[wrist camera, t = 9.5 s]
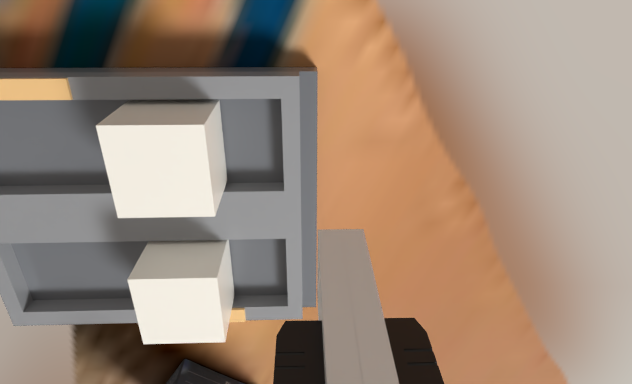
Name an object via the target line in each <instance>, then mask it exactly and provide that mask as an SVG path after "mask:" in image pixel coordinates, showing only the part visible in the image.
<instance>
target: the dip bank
mask: <svg viewBox="0 0 632 384" xmlns="http://www.w3.org/2000/svg"><path fill="white" fill-rule="evenodd" d="M128 100H219V102H220V112H221V122H222V131H223V141H224V151H225V161H226V171H227V183H226V186H225V189H224V192H223V195H222V198H221V201H220V203H219V206H218V209H217V212H216V215H215V217H157V218H118V216H117V212H116V208H115V204H114V200H113V196H112V191H111V187H110V183H109V179H108V175H107V171H106V167H105V162H104V158H103V154H102V150H101V146H100V142H99V138H98V133H97V129H96V125H97V124H98V123H100V122H101V121H102V120H104V119H105V118H106V117H107V116H109V115H110V114H111V113H113V112H114V111H115V110H117V109H118V108H119V107H121V106H122V105H123V104H125V103H126V102H127V101H128ZM316 218H317V67H187V68H0V295H1V297H2V300H3V302H4V304H5V307H6V309H7V311H8V313H9V316H10V318H11V320H12V323H13V325H14V326H22V325H23V326H26V325H65V324H66V325H68V324H110V323H138V321H137V317H136V313H135V308H134V304H133V300H132V296H131V292H130V288H129V284H128V280H127V279H128V277H129V276H130V274H131V272H132V270H133V268H134V267H135V265H136V263H137V261H138V259H139V258H140V256H141V254H142V252H143V250H144V249H145V247H146V245H147V243H148V241H184V240H229V246H230V256H231V265H232V275H233V284H234V293H235V295H234V300H233V305H232V310H231V315H230V321H229V322H246V320H278V319H303V317H302V307H316Z"/></svg>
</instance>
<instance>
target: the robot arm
mask: <svg viewBox="0 0 632 384" xmlns="http://www.w3.org/2000/svg"><path fill="white" fill-rule="evenodd" d="M318 317H319V321H285V323H284V324H283V326H282V328H281V329H280V331H279V333H278V334H277V339H276V355H275V369H274V381H273V384H444V382H443V379H442V376H441V373H440V370H439V367H438V366H437V361H436V358H435V355H434V353H433V352H432V347H431V344H430V341H429V338H428V335H427V332H426V331H425V330H424V329H423V327H422V326H421V325H420V324H419V323H418V322H417V321H416V319H415V318H384V316H383V312H382V307H381V303H380V299H379V294H378V290H377V286H376V281H375V277H374V273H373V269H372V264H371V260H370V256H369V251H368V247H367V243H366V238H365V234H364V230H363V229H343V230H318Z"/></svg>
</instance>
